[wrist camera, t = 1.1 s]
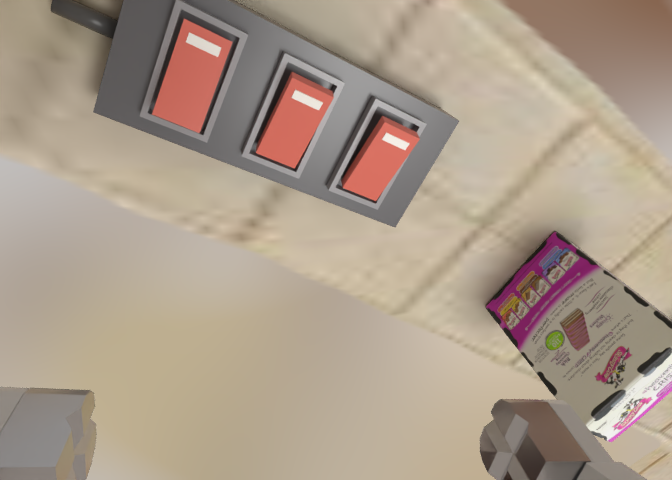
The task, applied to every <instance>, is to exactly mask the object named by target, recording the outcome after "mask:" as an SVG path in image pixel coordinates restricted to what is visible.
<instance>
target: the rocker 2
mask: <svg viewBox="0 0 672 480" xmlns="http://www.w3.org/2000/svg"><path fill="white" fill-rule="evenodd" d="M333 98H334V96H333V91H331V90H329V89H327V88H325V87H323V86H321V85H319V84H316V83H314V82H312V81H310V80H308V79H306V78H304V77H302V76H300V75H298V74H296V73H294V72H291V74H290V76H289V79H288V81H287V83H286V85H285V87H284V89H283V91H282V93H281V95H280V97H279V100H278V102H277V104H276V106H275V108H274V110H273V112H272V114H271V116H270V118H269V120H268V123H267V125H266V127H265V129H264V131H263V133H262V135H261V137H260V139H259V141H258V144H257V146H256V153H257V154H260V155H262V156H265V157H267V158H269V159H272V160H274V161H277V162H279V163H282V164H284V165H287V166H289V167H292V168H294V169H295V167H296V165H297V164H298V162H299V160H300V158H301V156H302V155H303V153H304V151H305V149H306V147H307V145H308V144H309V142H310V140H311V138H312V136H313V135H314V133H315V131H316V129H317V127H318V126H319V124H320V122H321V120H322V118H323V116H324V115H325V113H326V111H327V109H328V107H329V106H330V104H331V102H332V100H333Z"/></svg>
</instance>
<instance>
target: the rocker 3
mask: <svg viewBox="0 0 672 480" xmlns="http://www.w3.org/2000/svg"><path fill="white" fill-rule="evenodd" d="M419 140H420V138H419V136H418V134H417V132H415V131H413V130H411V129H409V128H407V127H405V126H403V125H401V124H399V123H397V122H395V121H392V120H390V119H388V118H386V117H384V116H382V117H381V119H380V120H379V122H378V123H377V125H376V126H375V128H374V130H373V131H372V133H371V134H370V136H369V137H368V139H367V141H366V142H365V144H364V145H363V147H362V148H361V150H360V152H359V153H358V155H357V156H356V158H355V160H354V161H353V163H352V164H351V166H350V167H349V169H348V171H347V172H346V174H345V175H344V177H343V178H342V180H341V182H342V187H343V188H344V189H347V190H349V191H352V192H354V193H357V194H359V195H362V196H364V197H367V198H369V199H372V200H374V201H376V200H377V199H378V197H379V196H380V195H381V193H382V192H383V190H384V189H385V188H386V186H387V185H388V183H389V182H390V181H391V179H392V178H393V176H394V175H395V174H396V172H397V171H398V169H399V168H400V167H401V165H402V164H403V162H404V161H405V159H406V158H407V157H408V155H409V154H410V152H411V151H412V150H413V148H414V147H415V145H416V144H417V143H418V141H419Z"/></svg>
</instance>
